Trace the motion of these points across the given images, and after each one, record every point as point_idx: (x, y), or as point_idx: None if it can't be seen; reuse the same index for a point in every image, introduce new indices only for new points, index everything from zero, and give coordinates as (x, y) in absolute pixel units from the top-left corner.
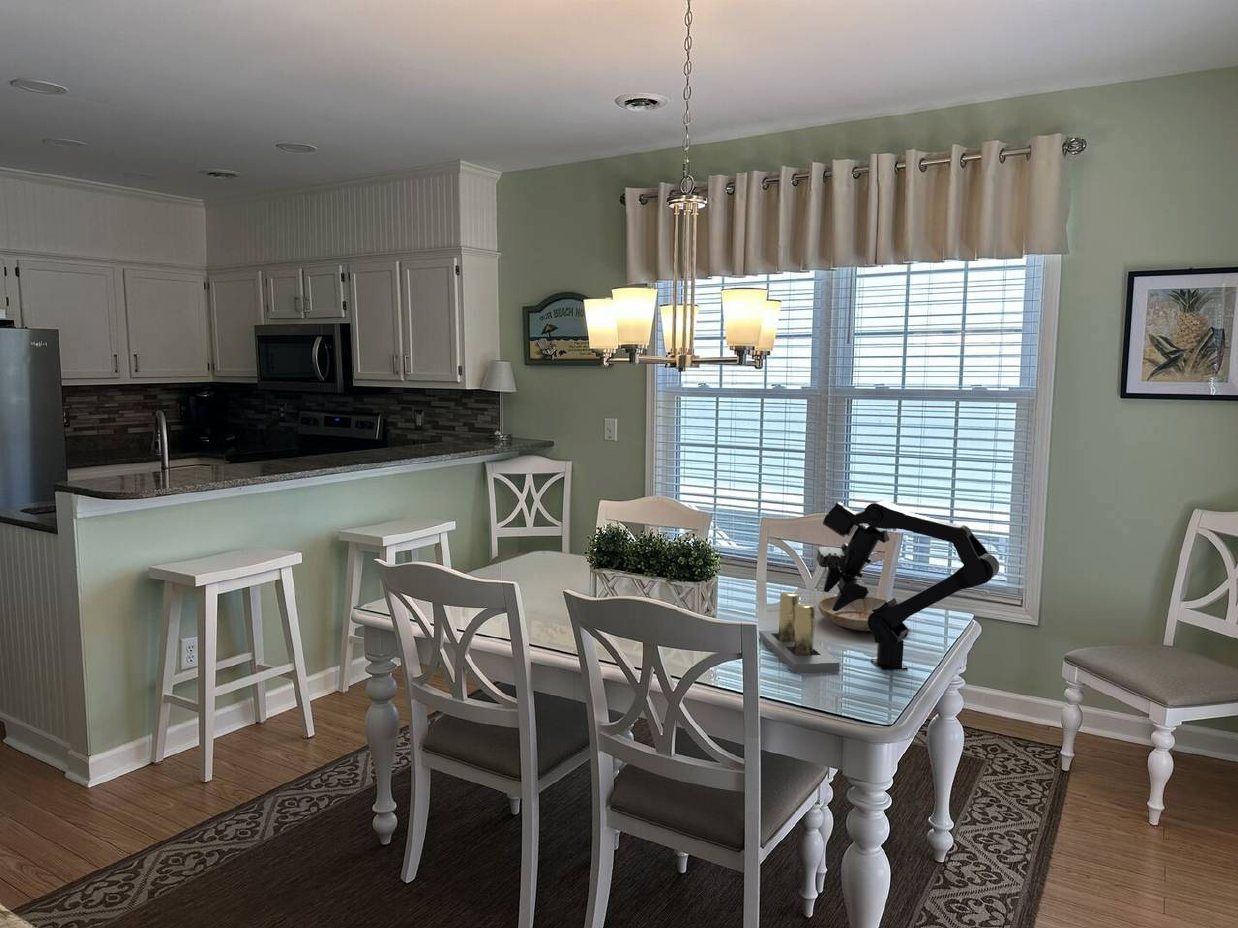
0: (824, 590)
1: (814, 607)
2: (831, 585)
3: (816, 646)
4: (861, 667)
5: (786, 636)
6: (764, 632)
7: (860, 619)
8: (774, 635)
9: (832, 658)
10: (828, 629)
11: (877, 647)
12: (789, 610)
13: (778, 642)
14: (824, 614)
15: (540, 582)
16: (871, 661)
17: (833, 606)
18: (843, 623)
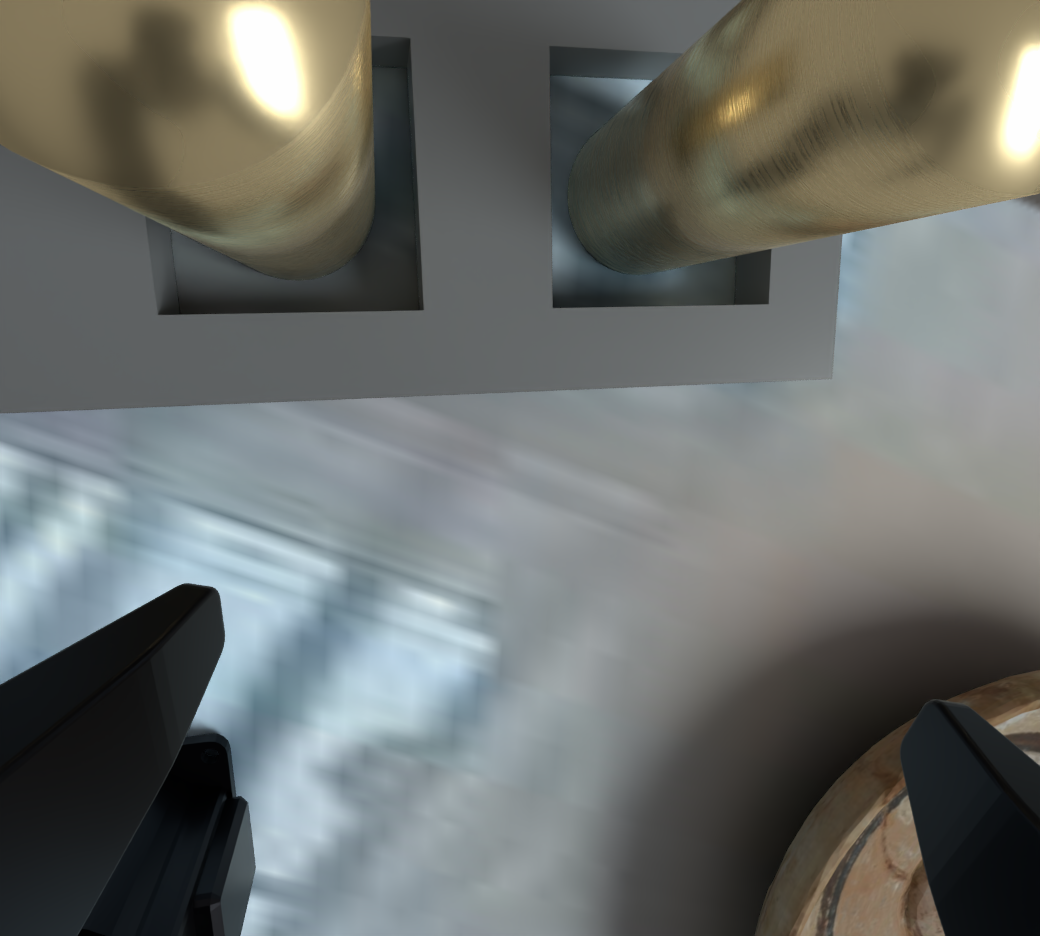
0: (933, 714)
1: (26, 130)
2: (980, 929)
3: (404, 362)
4: (81, 621)
5: (608, 130)
6: None
7: None
8: None
9: (58, 389)
10: (903, 645)
11: (223, 855)
12: (736, 36)
13: (537, 25)
14: (1036, 673)
15: None
16: (200, 735)
17: (145, 623)
18: (861, 760)
